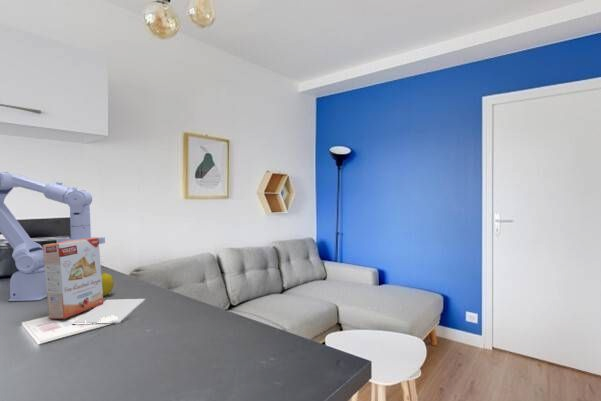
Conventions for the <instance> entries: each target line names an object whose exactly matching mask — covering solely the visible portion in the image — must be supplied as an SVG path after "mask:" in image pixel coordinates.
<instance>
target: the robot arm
mask: <svg viewBox="0 0 601 401" xmlns="http://www.w3.org/2000/svg"><path fill="white" fill-rule="evenodd" d="M14 188H24V189H26V190H30V191H34V192H38V193H41V194H43V195H44V197H45V198H46V199H48V200H52V201H55V202H58V203H61V204H65V205H68V207H69V218H70V225H69V226H70V238H59V239H56V243H60V242H64V241H72V240H80V239H88V238H98V239H99V245H100V244H102V245H103V244H105V243H106V237H102V236H101V237H94V236H93V237H92V235H91V234H92V232H91V209H90V205H91V204H92V202H93V196H92V194H91V193H90V192H88V191H87V190H84V189H83V190H78V187H74V186H73V187H70V186H66V185H65V184H64V185H63V182H61V181H56V182H55V181H53V182H50V183H46V182H45V183H44V182H42V181H39V180H36V179H34V178H30V177H27V176H25V175H22V174H18V173H17V174H16V173H11V172H9V171H0V234H1V235H2V237H3V238H4V239H5V240H6V241H7V242H8V244H9V245H10V247H12V250H13V251H12V254H11V257H12V258H13V260H14V262H15V264H14V265H15V267H16V269H17V270H18V271H16V272H14V273H13V274H12V275H11V277H10V280H9V298H8V302H27V301H42V300H43V299H45V298H47V290H46V278H45V266H44V253H43V245H41V244H40V243H38V242H36V241H34V240H33V239H32V238H31V237H30V235H29V234H28V233H27V231H26V230H25V228H23V226H22V225H21V223H19V221H18V220H17V218H16V217H15V215H14V214H13V213H12V212H11V210H10V208H9V207H8V206H7V205H6V204H5V199H6V197H7V196H8V195H9V193H11V191H13V189H14Z"/></svg>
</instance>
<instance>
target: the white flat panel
mask: <svg viewBox="0 0 601 401" xmlns="http://www.w3.org/2000/svg"><path fill="white" fill-rule="evenodd" d="M145 301H146V298H124V299H120V298H118V299H106V300H103V302H104V303H103V304H100V305H98V306H95V307H93V309H92V308H91V309H90V311H88V312H86V313H85V314H84V315H82V316H80V317H79V318H77V319H76V320H74V321H73V322H72V323H85V320H86V322H87V323H97V322H99V320H100V321H101V319H102V318H103V317H105V318H106V317H108V316H110V317H111V315H114V316H117V317H118V320H114V321H113V320H112V321H110V322H112V323H115V324H121V323H122V322H123V321H124V320H125V319H126V318H128V317H129V316H130V314H132V313H133V312H134V311H135V310H136V309H137V308H138V307H140V306H141V305H142V304H143V303H144V302H145ZM100 318H101V319H100ZM122 320H123V321H122ZM121 321H122V322H121Z"/></svg>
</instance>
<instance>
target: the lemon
mask: <svg viewBox="0 0 601 401" xmlns="http://www.w3.org/2000/svg"><path fill="white" fill-rule="evenodd" d="M101 277H102V289H103V297H106V296H107V295H108V294H109V293H111V292H112V290H113V289H114V284H115V282H114V278H113V276H112V275H111V274H109V273H106V272H103V273H101Z"/></svg>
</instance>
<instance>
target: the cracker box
mask: <svg viewBox="0 0 601 401" xmlns="http://www.w3.org/2000/svg"><path fill="white" fill-rule="evenodd" d="M42 248H43V253H44V266H45V278H46V290H47V297H46V299H47V302H46V303H47V312H48V319H49V320H56V319H57V320H64V319H67V318H70V317H72V316H75V315H77V314H80V313H82V312H84V311H87V310H91V309H92V308H93V309H94V308H95V307H97V306H98V305H100V304H103V303H104V296H103V289H102V277H101V274H102V268H101V267H102V266H101V254H100V253H101V252H100V244H99V239H98V238H88V239H80V240H72V241H64V242H60V243H57V242H53V243H47V244H43V245H42Z"/></svg>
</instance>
